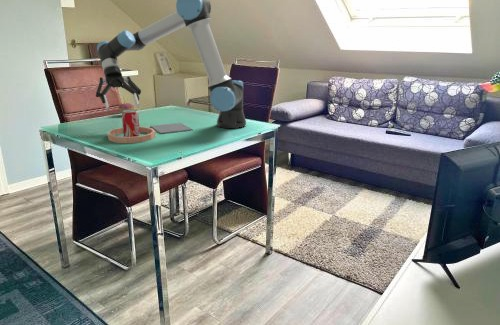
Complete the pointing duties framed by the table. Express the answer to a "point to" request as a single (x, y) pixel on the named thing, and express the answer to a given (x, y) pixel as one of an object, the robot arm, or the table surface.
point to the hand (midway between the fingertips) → (123, 107)
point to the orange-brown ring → (131, 139)
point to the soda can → (130, 123)
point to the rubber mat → (170, 128)
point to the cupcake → (125, 106)
